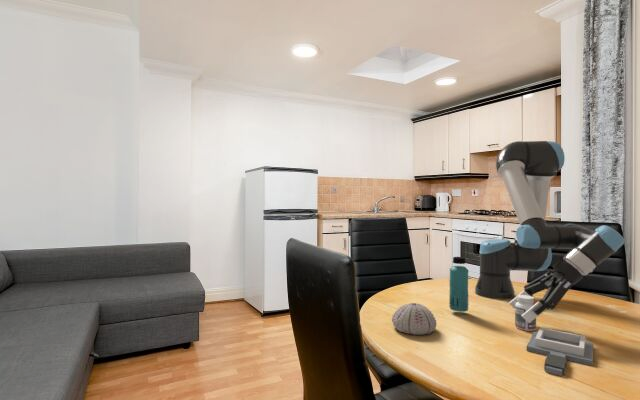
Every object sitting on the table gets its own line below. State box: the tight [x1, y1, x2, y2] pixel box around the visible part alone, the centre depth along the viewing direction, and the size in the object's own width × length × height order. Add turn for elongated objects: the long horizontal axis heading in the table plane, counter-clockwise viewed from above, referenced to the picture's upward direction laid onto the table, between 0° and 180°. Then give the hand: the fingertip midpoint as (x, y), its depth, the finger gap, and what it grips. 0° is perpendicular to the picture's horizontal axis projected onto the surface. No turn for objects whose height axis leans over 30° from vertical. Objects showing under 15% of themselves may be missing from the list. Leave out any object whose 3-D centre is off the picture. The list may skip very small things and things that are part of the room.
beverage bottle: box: [448, 256, 470, 313], centre depth 127 cm, size 6×7×20 cm
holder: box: [526, 326, 594, 377], centre depth 92 cm, size 14×25×3 cm, turn 142°
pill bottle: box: [514, 294, 537, 332], centre depth 112 cm, size 6×6×10 cm
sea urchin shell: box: [391, 302, 437, 336], centre depth 111 cm, size 13×14×8 cm
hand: (518, 312), depth 113 cm, fingers open, 13 cm apart
